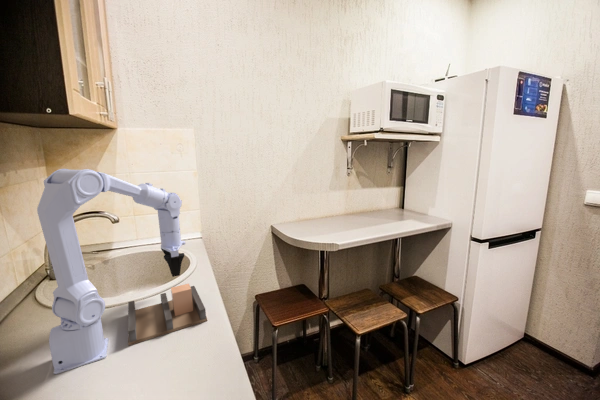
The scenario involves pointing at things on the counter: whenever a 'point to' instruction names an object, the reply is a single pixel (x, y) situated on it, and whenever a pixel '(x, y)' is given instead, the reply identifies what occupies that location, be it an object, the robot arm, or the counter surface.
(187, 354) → the counter surface
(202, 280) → the counter surface
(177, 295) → the block
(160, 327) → the rack
